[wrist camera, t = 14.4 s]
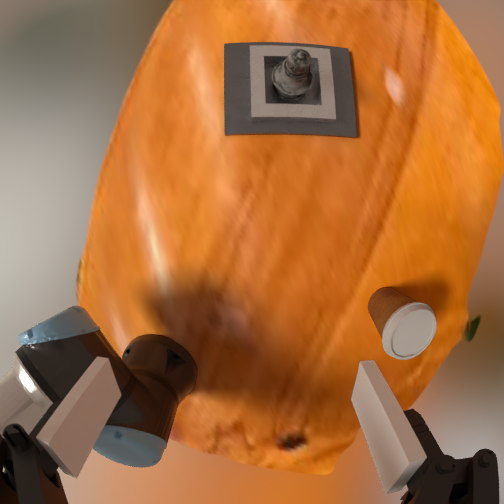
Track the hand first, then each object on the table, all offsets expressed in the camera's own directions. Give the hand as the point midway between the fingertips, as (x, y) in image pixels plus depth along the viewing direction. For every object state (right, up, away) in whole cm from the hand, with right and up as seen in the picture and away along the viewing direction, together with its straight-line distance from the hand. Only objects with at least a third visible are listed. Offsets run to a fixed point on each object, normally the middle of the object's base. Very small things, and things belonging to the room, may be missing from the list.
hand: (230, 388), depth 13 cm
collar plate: (+7, +32, +24) cm, 41 cm away
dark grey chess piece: (+7, +32, +24) cm, 40 cm away
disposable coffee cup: (+25, -2, +33) cm, 41 cm away
